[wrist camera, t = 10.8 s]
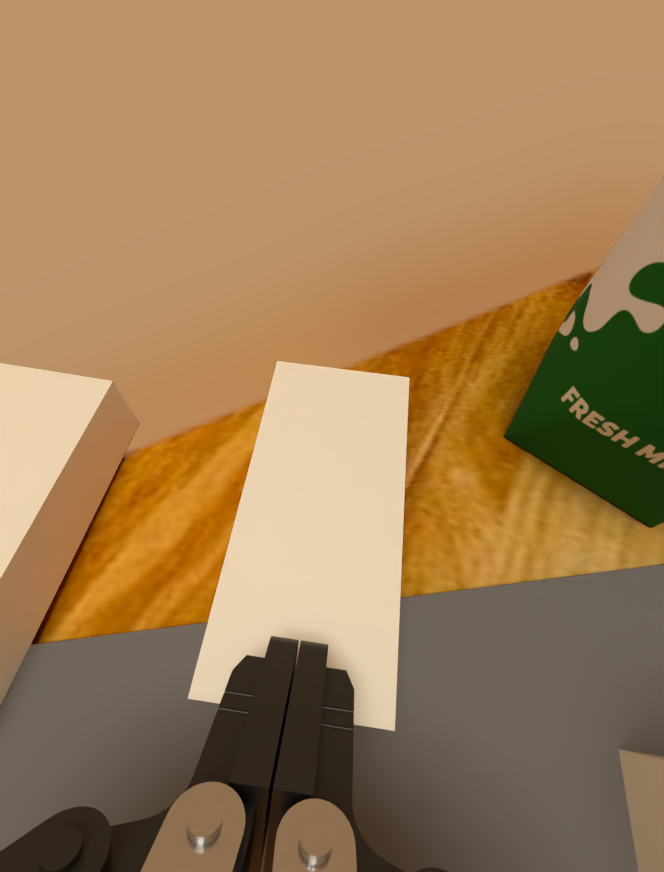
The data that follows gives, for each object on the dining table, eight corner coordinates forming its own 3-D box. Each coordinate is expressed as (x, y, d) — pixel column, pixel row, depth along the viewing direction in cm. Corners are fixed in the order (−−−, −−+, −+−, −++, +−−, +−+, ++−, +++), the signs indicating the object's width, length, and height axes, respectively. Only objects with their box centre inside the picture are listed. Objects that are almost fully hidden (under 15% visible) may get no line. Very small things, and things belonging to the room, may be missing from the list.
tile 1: (378, 724, 14) (396, 420, 20) (395, 731, 11) (409, 377, 17) (212, 698, 14) (282, 406, 20) (187, 698, 11) (277, 361, 17)
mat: (695, 561, 17) (703, 559, 17) (908, 960, 12) (926, 968, 11) (-212, 677, 14) (-226, 677, 13) (-486, 1297, 9) (-521, 1325, 8)
